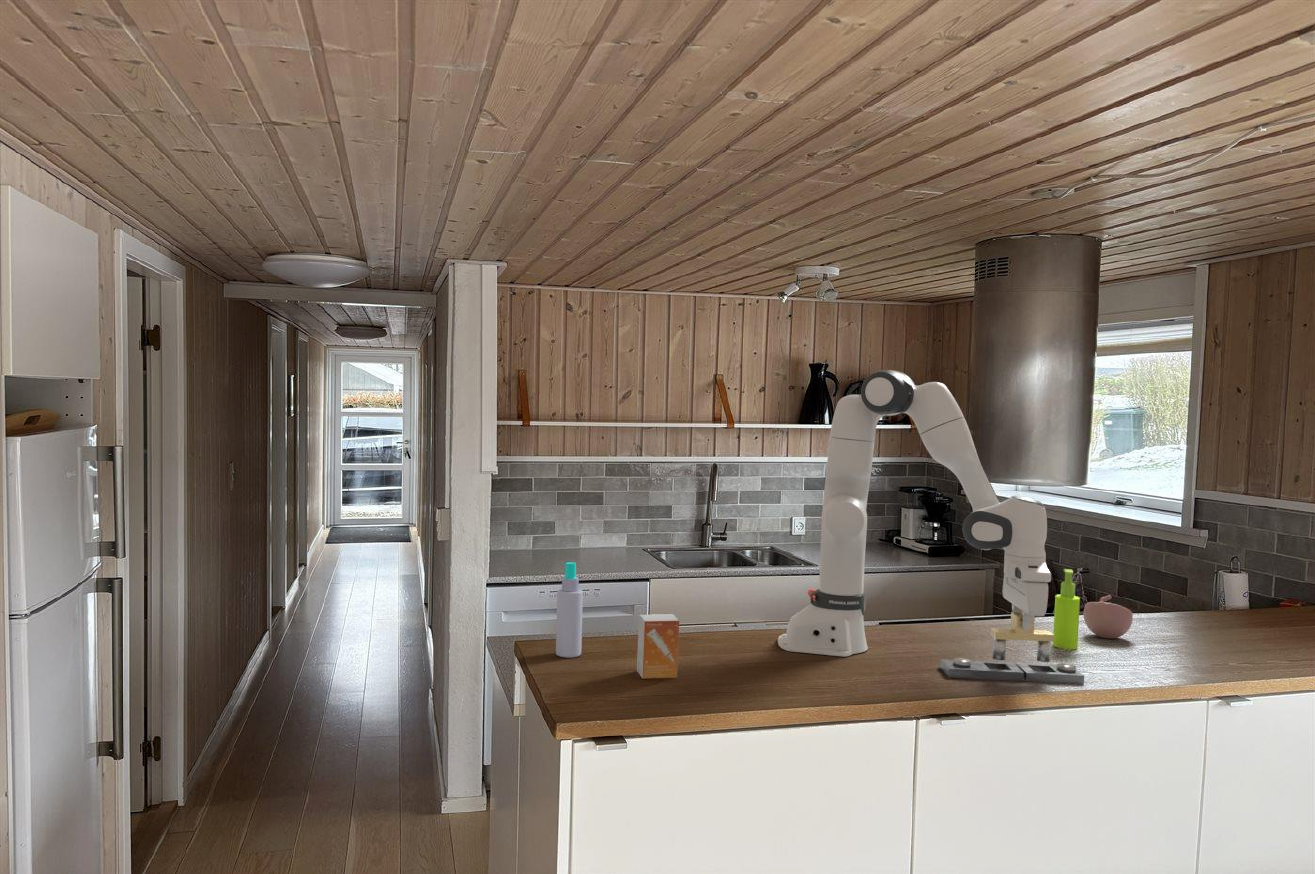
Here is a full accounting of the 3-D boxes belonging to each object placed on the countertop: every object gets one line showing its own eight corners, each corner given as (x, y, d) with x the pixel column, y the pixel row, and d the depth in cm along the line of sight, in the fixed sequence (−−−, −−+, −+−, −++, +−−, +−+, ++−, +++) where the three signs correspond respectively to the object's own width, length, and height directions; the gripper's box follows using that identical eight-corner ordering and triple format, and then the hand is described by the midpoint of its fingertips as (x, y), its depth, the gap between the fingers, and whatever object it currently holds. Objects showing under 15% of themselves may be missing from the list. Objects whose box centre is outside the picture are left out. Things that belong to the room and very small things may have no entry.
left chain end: (948, 677, 211) (948, 664, 210) (940, 667, 219) (940, 654, 218) (1023, 681, 209) (1024, 668, 209) (1012, 670, 217) (1013, 658, 217)
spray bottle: (577, 659, 216) (579, 566, 215) (552, 657, 217) (554, 564, 216) (584, 652, 222) (586, 561, 221) (560, 650, 223) (562, 560, 222)
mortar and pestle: (1133, 636, 254) (1135, 595, 253) (1128, 646, 243) (1131, 603, 243) (1085, 629, 260) (1087, 589, 259) (1079, 638, 250) (1081, 596, 249)
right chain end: (1026, 681, 209) (1026, 668, 209) (1015, 670, 217) (1015, 658, 217) (1083, 684, 208) (1084, 671, 208) (1070, 673, 216) (1071, 661, 216)
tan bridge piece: (994, 660, 212) (996, 615, 211) (989, 655, 216) (991, 611, 215) (1052, 663, 211) (1054, 617, 210) (1046, 658, 215) (1048, 613, 214)
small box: (642, 679, 202) (644, 620, 202) (636, 671, 209) (638, 613, 208) (678, 678, 204) (679, 619, 204) (671, 669, 210) (673, 613, 210)
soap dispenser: (1075, 643, 244) (1079, 568, 243) (1078, 650, 238) (1082, 573, 237) (1051, 641, 246) (1055, 566, 245) (1053, 647, 239) (1057, 571, 239)
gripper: (997, 558, 223) (994, 615, 223) (1024, 574, 202) (1022, 637, 203) (1023, 559, 222) (1021, 616, 223) (1054, 576, 202) (1051, 638, 203)
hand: (1022, 626), depth 213 cm, fingers closed on tan bridge piece, 4 cm apart
